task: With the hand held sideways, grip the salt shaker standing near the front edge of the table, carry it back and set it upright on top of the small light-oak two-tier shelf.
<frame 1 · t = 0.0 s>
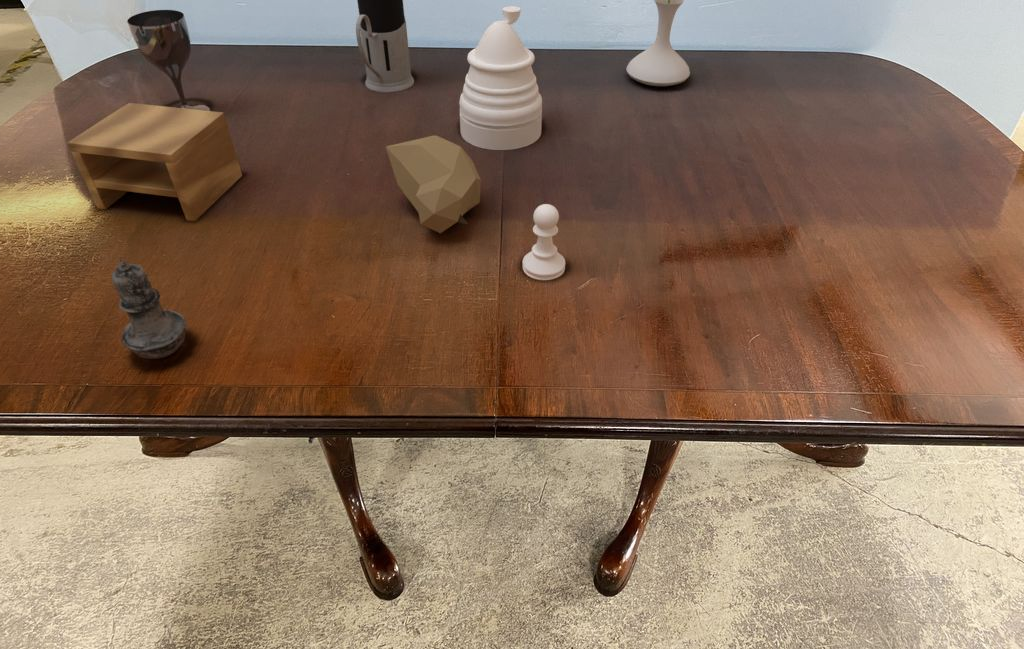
glass holder: (384, 89, 119), on the table
shelf: (174, 196, 91), on the table
salt shaker: (166, 357, 68), on the table
chess pawn: (543, 273, 79), on the table
flower in vase: (655, 82, 122), on the table
honey pot: (501, 132, 106), on the table
wine glass: (187, 114, 110), on the table
low-poly potato: (440, 222, 87), on the table
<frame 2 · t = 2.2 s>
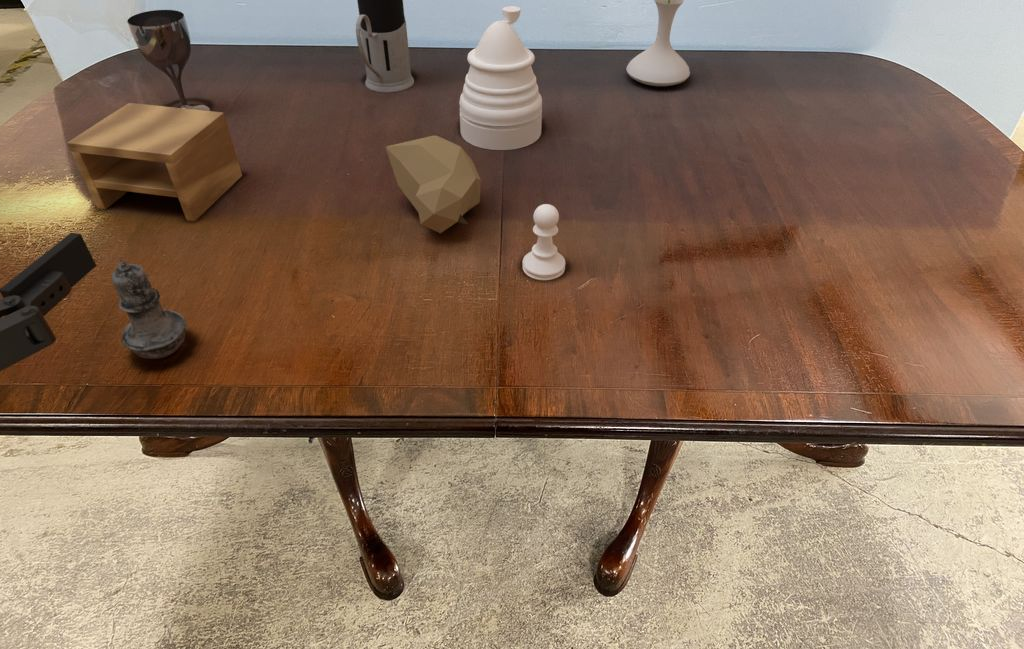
hand: (1, 237, 48), 20 cm above the table, tool horizontal, fingers open, 13 cm apart
nothing on the table moved.
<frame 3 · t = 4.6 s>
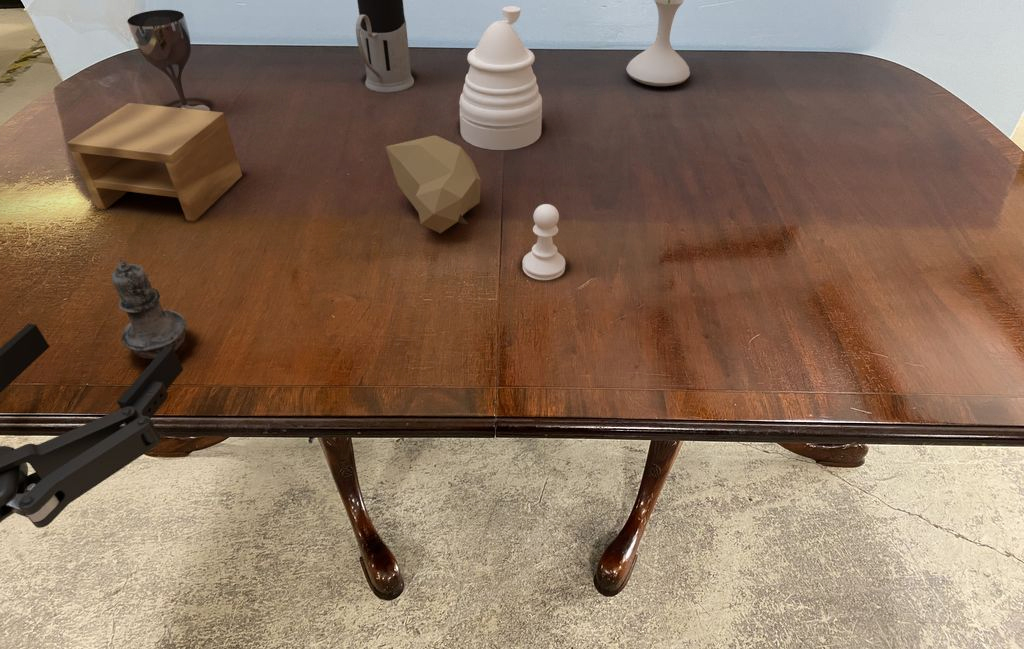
hand: (106, 346, 59), 6 cm above the table, tool horizontal, fingers open, 13 cm apart
nothing on the table moved.
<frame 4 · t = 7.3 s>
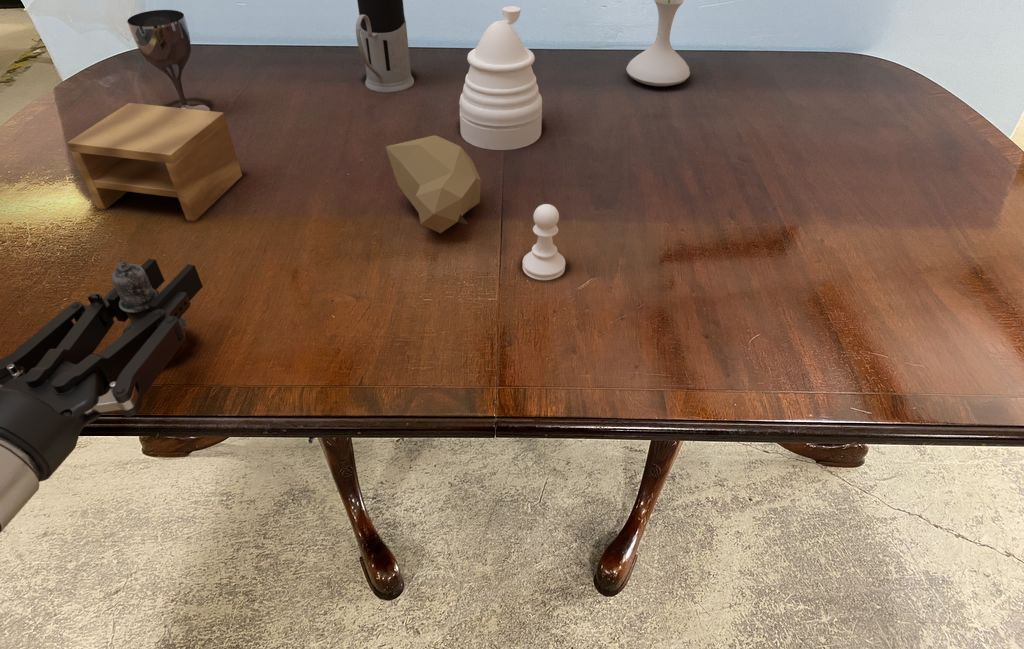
hand: (175, 273, 67), 6 cm above the table, tool horizontal, fingers closed on salt shaker, 4 cm apart
salt shaker: (166, 357, 68), on the table, touching gripper
everything else where it was.
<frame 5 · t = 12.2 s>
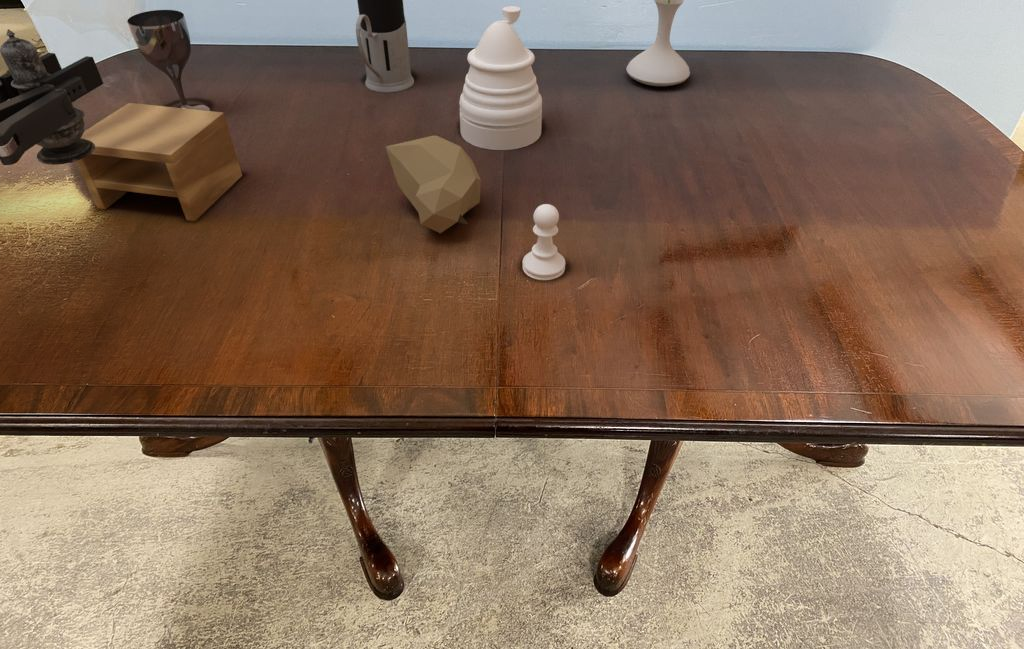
hand: (75, 68, 67), 22 cm above the table, tool horizontal, fingers closed on salt shaker, 4 cm apart
salt shaker: (67, 153, 68), point 15 cm above the table, touching gripper
everything else where it was.
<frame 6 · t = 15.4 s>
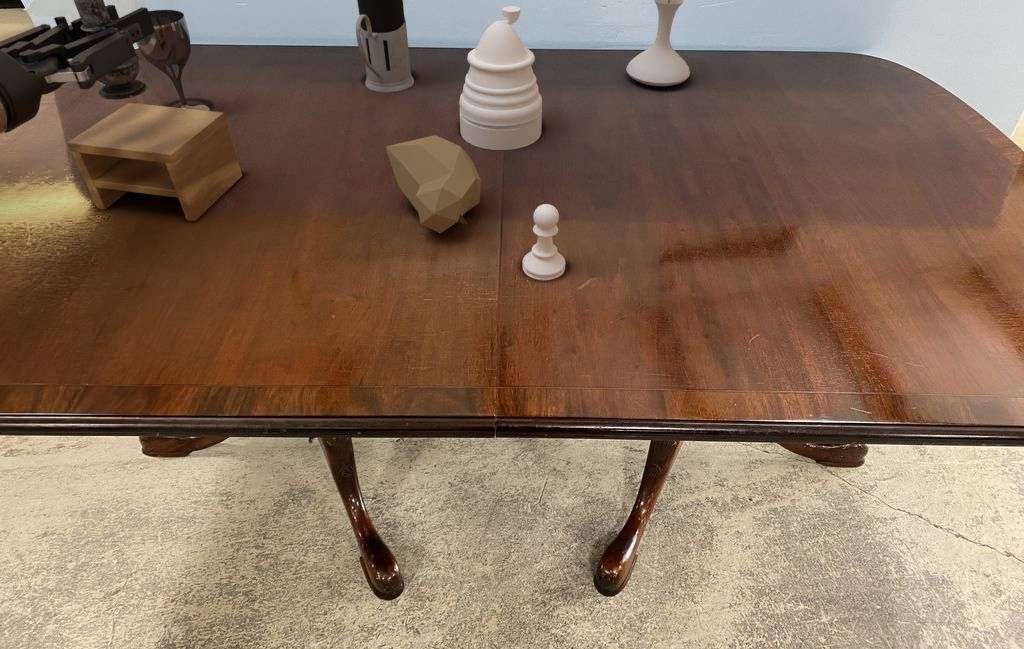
hand: (132, 18, 79), 22 cm above the table, tool horizontal, fingers closed on salt shaker, 4 cm apart
salt shaker: (124, 92, 79), point 15 cm above the table, touching gripper
everything else where it was.
when the fingers open (16 cm above the table, at t = 17.4 s): salt shaker stays where it is, resting on shelf.
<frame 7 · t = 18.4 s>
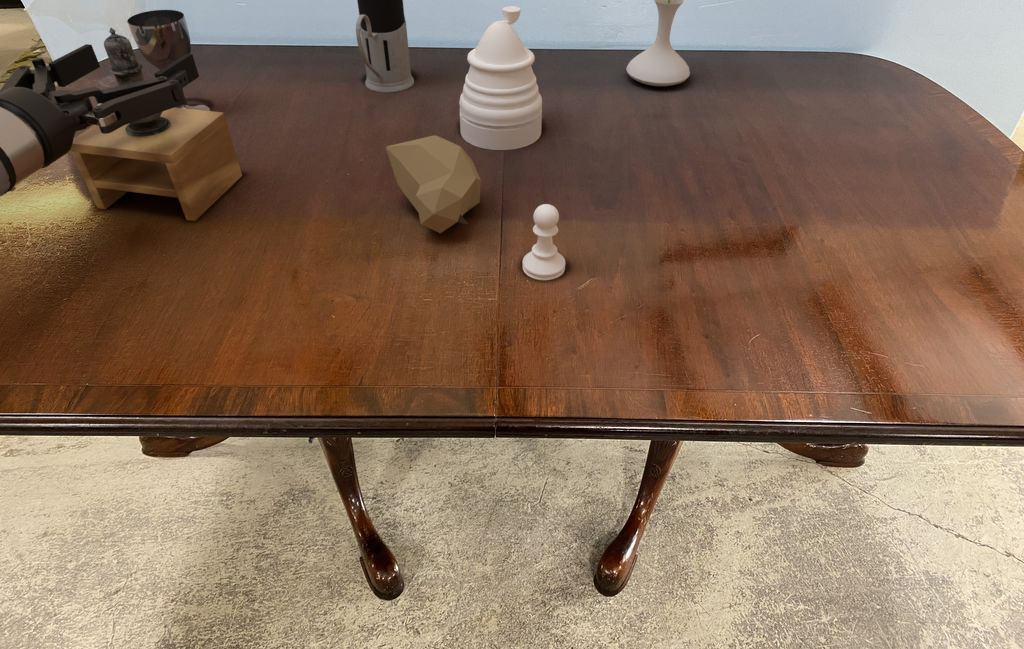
hand: (142, 60, 82), 17 cm above the table, tool horizontal, fingers open, 13 cm apart
salt shaker: (149, 128, 84), point 10 cm above the table, touching shelf
everything else where it was.
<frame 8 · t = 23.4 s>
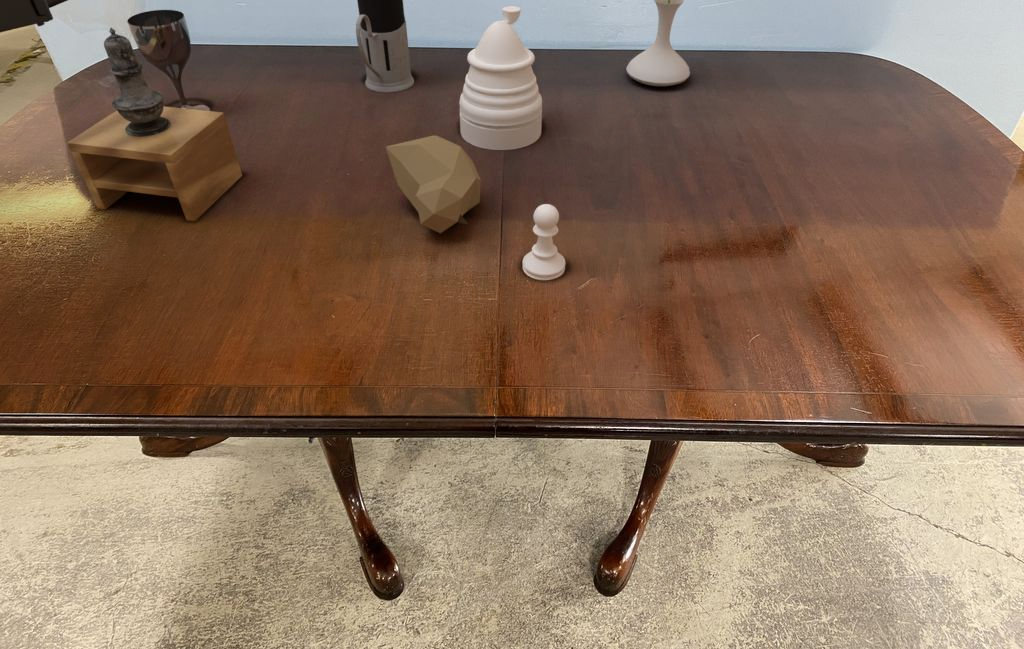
nothing on the table moved.
at the end: salt shaker inside the target area on the shelf (0.0 cm from its centre), point 9.8 cm above the shelf's base; salt shaker tilted 0° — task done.
